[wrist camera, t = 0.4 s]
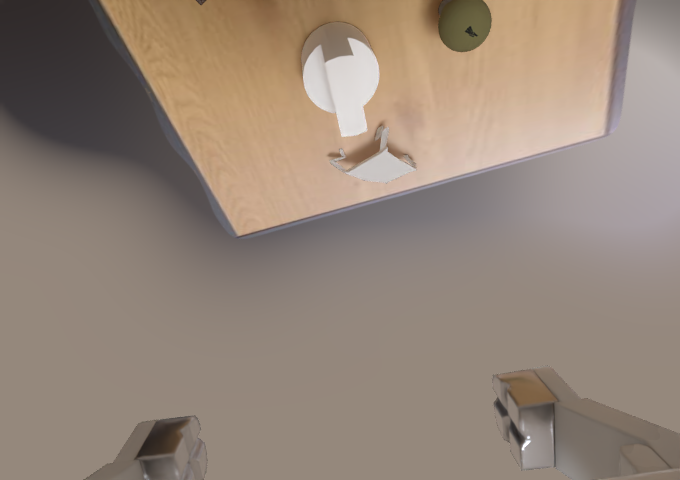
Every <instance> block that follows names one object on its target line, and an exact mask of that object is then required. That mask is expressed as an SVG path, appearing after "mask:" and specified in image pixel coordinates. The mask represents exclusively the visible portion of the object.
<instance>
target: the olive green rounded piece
mask: <svg viewBox="0 0 680 480" xmlns="http://www.w3.org/2000/svg"><path fill="white" fill-rule="evenodd" d="M439 15H440V18H439V23H438V30H439V35H440V38H441V40H442V41H443V43H444V44H445V45H446V46H447V47H448V48H450V49H451V50H453V51H457V52H467V51H471V50H473V49H475V48H477V47H478V46H479V45H481V44H482V43H483V42H484V40H485V39H486V38H487V36H488V34H489V32H490V28H491V21H492V19H491V13H490V10H489V8H488V6H487V5H486V3H485V2H484V1H483V0H443V1H442V2H441V4H440V6H439Z"/></svg>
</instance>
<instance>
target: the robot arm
mask: <svg viewBox="0 0 680 480" xmlns="http://www.w3.org/2000/svg"><path fill="white" fill-rule="evenodd" d="M492 383H493V390H494V392H495V393H496V395H497V396H498V397H497V399H496V400H495V402H494V412H495V418H496V422H497V426H498V429H499V431H500V433H501V435H502V437H503V439H504V440H506V441H508V442H509V443H510V451H511V453H512V455H513V457H514V459H515V460H516V462H517V464H518V466H519V467H520V469H521V470H531V469H540V468H550V467H556V469H557V470H559V471H561V472H562V473H563V474H565V475H566V476H568V477H569V478H570V479H572V480H680V434H679V433H676V432H674V431H671V430H669V429H666V428H663V427H661V426H658V425H656V424H653V423H650V422H648V421H645V420H642V419H640V418H637V417H635V416H632V415H629V414H627V413H624V412H622V411H619V410H616V409H614V408H611V407H608V406H606V405H603V404H600V403H598V402H595V401H593V400H590V399H588V398H584V399H581V398H580V397H579V396H578V395H577V394H576V393H575V392H574V391H573V390H572V389H571V388H570V387H569V386H568V384H567V383H566V382H565V381H564V380H563V379H562V378H561V377H560V376H559V375H558V374H557V373H556V372H555V371H554V369H553V368H551V367H550V366H543V367H537V368H532V369H527V370H521V371H514V372H509V373H502V374H496V375H493V379H492ZM200 430H201V427H200V423H199V420H198V418H197V417H196V416H185V417H177V418H169V419H160V420H152V421H145V422H141V423H139V424H138V425H137V426H136V428H135V429H134V431H133V432H132V434H131V435H130V437H129V438H128V440H127V442H126V443H125V445H124V446H123V448H122V449H121V451H120V453H119V454H118V456H117V457H116V459H115V460H114V462H113V463H110V464H106V465H105V466H103V467H102V468H100V469H99V470H97V471H96V472H94V473H93V474H91V475H90V476H89V477H87V478H86V479H84V480H204V477H205V474H206V469H207V451H206V446H205V443H204V442H203V441H202V440H201V439H199V438H198V435H199V433H200Z"/></svg>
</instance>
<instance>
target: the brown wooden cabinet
mask: <svg viewBox="0 0 680 480" xmlns="http://www.w3.org/2000/svg"><path fill="white" fill-rule="evenodd" d="M196 1H197V2H198V3H199V4H200V5H202V4H203V3H204V2H205V1H206V0H196Z"/></svg>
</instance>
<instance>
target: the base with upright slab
mask: <svg viewBox="0 0 680 480" xmlns="http://www.w3.org/2000/svg"><path fill="white" fill-rule="evenodd" d="M301 63H302V72H303V81H304V87H305V90H306V92H307V95H308V96H309V98H310V99H311V100H312V102H313V103H314V104H316V105H317V106H318V107H319V108H321V109H323V110H325V111H328V112H330V113H336V114H337V118H338V123H339V127H340V132H341V136H342V137H347V136H355V135H358V134H361V133H364V132H366V131H367V125H366V120H365V114H364V109H363V105H365V104H366V103H367V102H368V101H369V100H370V99H371V98H372V96H373V94H374V93H375V91H376V89H377V86H378V82H379V66H378V62H377V59H376V57H375V55H374V53H373V50H372V48H371V46H370V44H369V42H368V40H367V39H366V37H365V36H364V34H363V33H362V32H361V31H360V30H359V29H358V28H356V27H354V26H352V25H350V24H348V23H343V22H331V23H327V24H325V25H322V26H320V27H318V28H317V29H316V30H315V31H313V32H312V33H311V34H310V36H309V37H308V38H307V40H306V42H305V44H304V47H303V49H302V56H301Z"/></svg>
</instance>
